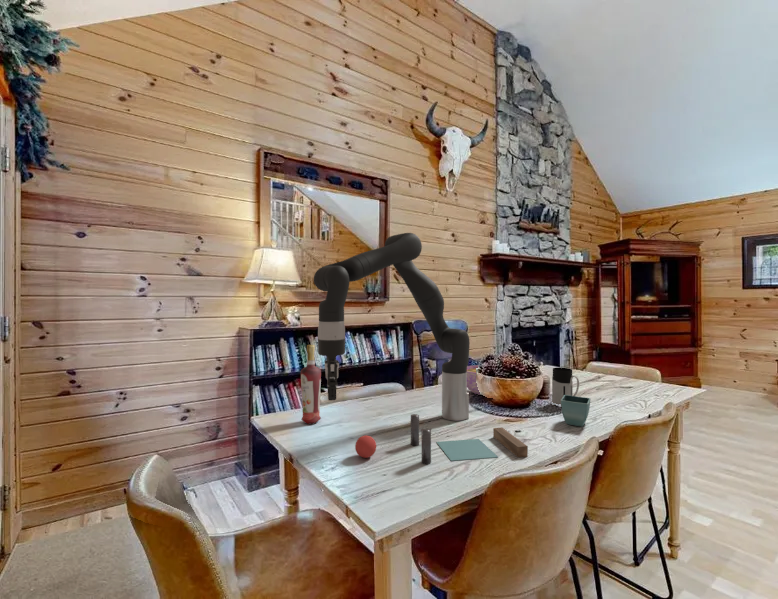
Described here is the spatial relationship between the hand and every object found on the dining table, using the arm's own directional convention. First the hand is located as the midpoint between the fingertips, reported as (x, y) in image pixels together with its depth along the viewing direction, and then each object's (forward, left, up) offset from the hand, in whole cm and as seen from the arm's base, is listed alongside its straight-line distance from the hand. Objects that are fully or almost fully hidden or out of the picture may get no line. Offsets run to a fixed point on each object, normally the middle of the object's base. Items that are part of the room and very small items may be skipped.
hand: (331, 396), depth 111 cm
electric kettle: (-97, -35, -18) cm, 104 cm away
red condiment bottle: (+6, -34, -18) cm, 39 cm away
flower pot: (-87, -15, -18) cm, 90 cm away
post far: (-26, -7, -18) cm, 32 cm away
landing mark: (-40, 0, -18) cm, 43 cm away
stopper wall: (-54, 0, -18) cm, 56 cm away
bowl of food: (-72, -60, -18) cm, 95 cm away
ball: (-10, 0, -15) cm, 18 cm away
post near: (-26, +7, -18) cm, 32 cm away
